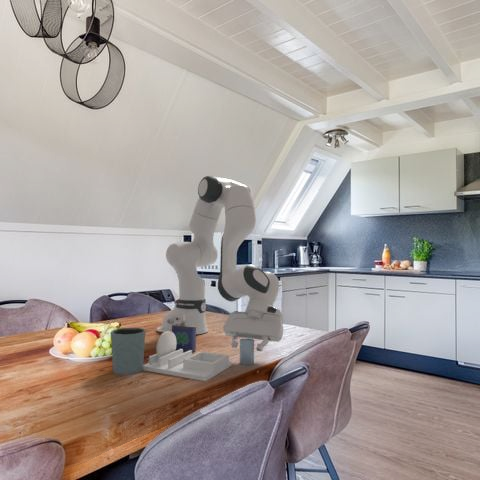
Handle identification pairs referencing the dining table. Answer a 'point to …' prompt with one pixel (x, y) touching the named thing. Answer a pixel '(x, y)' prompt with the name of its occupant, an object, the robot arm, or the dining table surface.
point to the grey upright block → (246, 351)
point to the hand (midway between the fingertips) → (246, 348)
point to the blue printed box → (185, 336)
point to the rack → (185, 360)
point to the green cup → (127, 350)
